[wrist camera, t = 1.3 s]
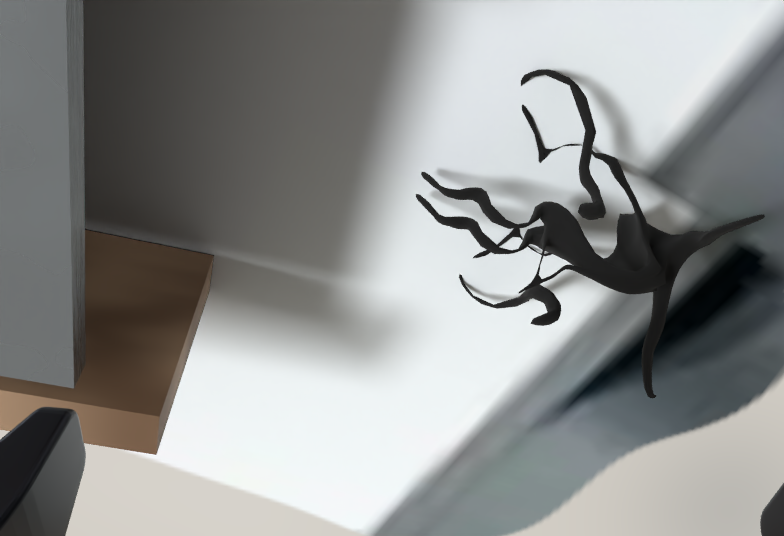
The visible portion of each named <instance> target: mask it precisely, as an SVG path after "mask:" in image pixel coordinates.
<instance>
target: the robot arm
mask: <svg viewBox="0 0 784 536" xmlns="http://www.w3.org/2000/svg"><path fill="white" fill-rule="evenodd" d="M85 458H86V453H85V447H84V442H83V437H82V431H81V426H80V421H79V417H78V414H77V413H76V411H74V410H73V409H68V408H57V407H41V408H39V409H37V410H35V411H34V412H32V413H31V414H30V415H29V416H28V417H26V418H25V419H24V420H23V421H22V422H21V423H19V424H18V425H17V426H16V427H15V428H13V429H12V430H11V431H10V432H9V433H8V434H6V435H5V436H4V437H3V438H2V439H1V440H0V536H65V534H66V531H67V527H68V524H69V520H70V517H71V513H72V509H73V506H74V503H75V499H76V495H77V492H78V489H79V485H80V481H81V478H82V474H83V471H84V466H85ZM760 523H761V534H762V536H784V483H783V485H782V486H781V487H780V489H779V490H778V491H777V493H776V494H775V495H774V497H773V498H772V499H771V501H770V502H769V503H768V505H767V506H766V507H765V509H764V511H763V512H762V515H761V522H760Z"/></svg>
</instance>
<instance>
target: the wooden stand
mask: <svg viewBox="0 0 784 536" xmlns="http://www.w3.org/2000/svg"><path fill="white" fill-rule="evenodd" d="M213 258H214V256H213V255H208V254H203V253H198V252H193V251H188V250H183V249H178V248H173V247H168V246H163V245H158V244H153V243H149V242H144V241H139V240H134V239H129V238H124V237H119V236H114V235H109V234H104V233H99V232H94V231H89V230H85V330H86V364H85V367H84V369H83V371H82V373H81V375H80V377H79V379H78V381H77V383H76V386H75V388H68V387H62V386H56V385H51V384H45V383H39V382H33V381H27V380H21V379H15V378H10V377H4V376H0V430H6V431H11V430H12V429H13V428H15V427H16V426H17V425H18V424H19V423H21V422H22V421H23V420H24V419H25V418H26V417H28V416H29V415H30V414H31V413H32V412H34V411H35V410H37V409H39V408H41V407H57V408H68V409H73V410H74V411H76V413H77V414H78V417H79V421H80V426H81V431H82V437H83V442H84V443H87V444H93V445H99V446H105V447H112V448H118V449H124V450H130V451H137V452H143V453H149V454H155V455H156V454H157V451H158V448H159V445H160V442H161V439H162V435H163V432H164V429H165V426H166V423H167V420H168V417H169V414H170V411H171V408H172V405H173V401H174V398H175V395H176V392H177V389H178V386H179V383H180V380H181V377H182V374H183V371H184V368H185V364H186V361H187V358H188V355H189V352H190V349H191V346H192V343H193V340H194V337H195V334H196V331H197V327H198V324H199V321H200V318H201V315H202V312H203V309H204V306H205V303H206V300H207V297H208V294H209V289H210V281H211V274H212V266H213Z"/></svg>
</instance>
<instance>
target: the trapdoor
mask: <svg viewBox="0 0 784 536" xmlns="http://www.w3.org/2000/svg"><path fill="white" fill-rule="evenodd" d="M85 364H86V330H85V176H84V22H83V0H0V376H4V377H10V378H15V379H21V380H27V381H33V382H39V383H45V384H51V385H56V386H62V387H68V388H75V386H76V383H77V381H78V379H79V377H80V375H81V373H82V371H83V369H84V367H85Z"/></svg>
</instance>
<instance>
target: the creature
mask: <svg viewBox="0 0 784 536" xmlns="http://www.w3.org/2000/svg"><path fill="white" fill-rule="evenodd" d="M540 75H547V76H549V77H552V78H554V79H556V80H558V81H561V82H563V83H565V84H568V85H570V88H571V91H572V93H573V96H574V99H575V102H576V105H577V108H578V110H579V113H580V116H581V119H582V122H583V125H584V127H585V130H586V131H585V136H584V142H583V148H582V153H581V158H580V164H579V175H580V181H581V184H582V185H583V186H584V187H585V188H586V189H587V191H588V192H589V194H590V195H591V198H592V201H593V203H584V204H581V205H580V207H579V210H578V213H579V214H580V215H581V216H582V217H583V218H586V219H588V220H595V219H598V218H604V215H605V213H606V210H605V206H604V203H603V200H602V197H601V194H600V190H599V188H598V186H597V184H596V183H595V181H594V180H593V178H592V176H591V174H590V170H589V164H590V159H591V154H593V156H594V157H595V158H598V159H601V160H603V161H604V162H605V163H607V164H608V165H609V167H610V169H611V172H612V174H613V175H614V177H615V179H616V180H617V181H618V182H619V184H620V185H621V186H622V187H623V189H624V190H625V192H626V194H627V195H628V197H629V199H630V201H631V203H632V205H633V208H634V211H635V213H634V214H630V215H629V214H624V215H623V214H620V216H619V219H618V224H617V246H616V248H615V250H614V253H612V254H611V255H610V256H609V257H608V258H604V259H603V258H602V257H600V256H599V255H597V254H596V253H595V252H594V250H593V248H592V247H591V245H590V244H589V242H588V240H587V239H586V237H585V235H584V233H583V231H582V229H581V227H580V225H579V223H578V221H577V220H576V219H575V217H574V216H573V215H572V214H571V213H570V212H569V211H568V210H567V209H566V208H564V207H563V206H562V205H560V204H558V203H554V202H543V203H541V204H539V205H538V206H536V207H535V209H534V212H533V215H532V217H531V219H530V221H529V222H528V223H523V224H515V223H513V222H511V221H508V220H506V219H505V218H504V217H503V216H502V215H501V214H500V213H499V212H498V211H497V210H496V209H495V208H494V207H493V206H492V205H491V202H490V199H489V196H488V194H487V192H486V191H484V190H483V189H482V188H465V189H461V190H454V189H448V188H444V187H442V186H440V185H439V184H438V183H437V182H436V181H435V180H434V179H433V178H432V177H431V176H430V175H428V174H427V173H425V172H422V174H421V175H422V176H423V178H424V179H425V180H427V181H428V182H429V183H430V184H431V185H432V186H433V187H435V188H436V189H438V190H439V191H440V192H441V193H442V194H443V195H445V196H447V197H450V198H454V199H458V200H474V201H475V202H477V203H478V204H479V205H480V207H481V209H482V211H483V213H484V214H485V215H486V216H487V217H488V218H489V219H490V220H491V221H492V222H493V223H496V224H498V225H501V226H503V227H506V228H508V229H511V228H514V229H513V230H512V232H511V233H510V234H509V235H507V236H506V237H505V238H504V239H503V240H502V241H501V242H500V243H499V244H498V245H496V244H495V243H494V242H493V241H492V240H491V239H490V238H489V237H487V236H486V235H485V234H484V233H483V232H482V230H481V228H480V226H479V224H478V222H476V221H475V220H473V219H472V218H468V217H444V216H442V215H439V214H438V213H437V212H436V210H435V209H434V208H433V207H432V206H431V204H430V203H429V202H428V201H427V200H426V199H424V198H423V197H422V196H421V195H418V194H416V198H417V199H418V201H419V202H420V203H421V204H422V205H423V206H424V207H425V208H426V209H427V210H428V211H429V212H430V213H431V214H432V215H433V216H434V218H435V219H436V220H437V221H438V222H439V223H441V224H443V225H446V226H450V227H453V228H457V229H467V230H469V231H470V232H471V234H472V235H473V236H474V238H475V239H476V240H477V242H478V243H479V244H480V245H481V246H482V247H483V248H485V249H487V250H486V251H483V252H481V253H479V254H477V255H475V256H474V257H473V258H478V257H482V256H486V255H487V254H489V253H490V252H492V253H494V254H511V253H515V252H518V251H521V250H523V249H525V248H526V247H527V246H528V245H529V244H533V245H536V246H538V247H539V248H541V249H542V250H543V252H542V254H541V253H539V252H537V251H536V250H534V249H533V248H531V247H530V246H528V247H529V248H530V249H532V250H533V251H535V252H537V253H539V254H541V255H542V257H541V261H542V259H543V256H548V255H551V254H554V255H556V256H558V257H560V258H562V259H564V260H566V261H568V262H569V263H571V264H572V265H565V266H563V267H562V268H561V269H560V270H558V271H557V272H556V273H554V274H553V275H551V276H549V277H547V278H544V279H541V278H540V276H539V270H540V264H541V261H540V264H539V268H538V271H537V274H536V276H535V277H534V279H533V281H532V282H531V283H530V284H529V285H528V286H526V287H525V288H524V289H522V290H521V291H520V292H519V293H521V292H523V291H525V290H526V291H525V292H524V293H523V294H522V295H521V296H520V297H517V298H514V299H511V300H508V301H504V302H501V303H498V304H495V305H493V304H491V303H488V302H486V301H484V300H482V299H480V298H478V297H475V296H473V294H472V293H471V292H470V291H469V289H468V288H467V287H466V285H465V284H464V283H463V279H462V275H459V278H460V281H461V283H462V285H463V287H464V288H465V290H466V291H467V292H468V293H469V294H470V295H471V296H472V297H473V298H474V299H475V300H477V301H478V302H480V303H481V304H484V305H487V306H490V307H493V308H497V309H498V308H506V307H515V306H518V305H521V304H523V303H525V302H527V301H529V300H530V299H531V298H534V299H536V300H538V301H541V302H543V303H544V304H545V306H546V309H547V313H546V314H543V315H541V316H538V317H536V318H534V319H533V320H532V322H531V324H534V325H541V326H544V325H550V324H552V323H554V322H555V321H557V320H558V319H559V317H560V313H561V305H560V302H559V301H558V299H557V298H556V297H555V295H554V293H552V292H551V291H550V290H548V289H547V288H545V287H543V286H541V285H540V284H541V283H543V282H545V281H547V280H550V279H552V278H554V277H555V276H556V275H557V274H559V273H560V272H561V271H563V270H565V269H570V270H573V271H576V272H578V273H580V274H582V275H584V276H586V277H588V278H591V279H593V280H594V281H596V282H598V283H600V284H602V285H604V286H606V287H609V288H611V289H614V290H616V291H619V292H622V293H627V294H642V293H649V292H653V308H652V317H651V322H650V326H649V329H648V331H647V334H646V337H645V341H644V345H643V349H642V373H643V382H644V388H645V390H646V393H647V395H648V397H650V398H655V397H656V395H654V394H653V390H652V362H653V352H654V350H655V347H656V345H657V343H658V340H659V338H660V335H661V333H662V331H663V328H664V324H665V319H666V314H667V308H668V304H669V299H670V295H671V291H672V287H673V284H674V281H675V278H676V276H677V274H678V271H679V269H680V268H681V266H682V265H683V263H684V262H685V261H686V260H687V258H688V257H689V256H690V255H692V254H693V253H694V252H696V251H697V250H699V249H700V248H703V247H705V246H707V245H709V244H711V243H712V242H713V241H715V240H716V239H717V238H719V237H720V236H722V235H724V234H726V233H728V232H730V231H733V230H735V229H738V228H741V227H743V226H746V225H749V224H751V223H754V222H756V221H759V220H761V219H763V218H764V217H765V216H764V215H757V216H753V217H749V218H746V219H742V220H739V221H736V222H732V223H729V224H726V225H723V226H720V227H717V228H714V229H712V230H710V231H707V232H698V231H690V232H688V233H685V234H683V235H670V234H668V233H665V232H663V231H660V230H658V229H656V228H654V227H653V226H651V225H649V224H647V222H646V219H645V217H644V215H643V213H642V211H641V209H640V206H639V204H638V202H637V199H636V197H635V195H634V193H633V192H632V190H631V188H630V186H629V184H628V182H627V180H626V178H625V176H624V173H623V171H622V168H621V166H620V164H619V162H618V160H617V159H616V158H615V157H612V156H609V155H606V154H600V153H595V152H594V151H593V150H592V145H593V142H594V138H595V134H596V130H595V126H594V123H593V119H592V116H591V112H590V108H589V105H588V101H587V98H586V96H585V95H584V93H583V92H582V90H581V89H580V88H579V86H578V85H577V84H576V83H575V82H574V81H572V80H571V79H570V78H569V77H566V76H564V75H562V74H560V73H558V72H555V71H553V70H536V71H533V72H530V73H528V74H526V75H524V77H523V78H522V80H521V86H522V85H523V84H524V83H525V82H527V81H528V80H529V79H530V78H532V77H534V76H540ZM522 111H523V113H524V115H525V117H526V119H527V120H528V122H529V124H530V126H531V128H532V130H533V132H534V134H535V138H536V142H537V147H538V151H539V162H540V163H541V161H542V160H543V159H545V158H546V157H547V155H548V154H549V153H550V152H551V151H554V150H556V149H558V148H560V147H558V148H556V149H544V147H543V145H542V143H541V140H540V138H539V135H538V132H537V130H536V127H535V124H534V122H533V119H532V117H531V115H530V113H529V112H528V110H527V108H526V107H525V106H524V105H522ZM576 145H578V144H568V145H563V146H576ZM561 147H562V146H561ZM539 218H540V219H541V220H542V222H543V223H544V226H540V227H534V228H531V229H528V230H527V231H526V234H525V236H524V239H522V237H521V236H520V231H519V228H524V227H527V226H529V225H531V224H532V223H534V222H535V221H537V220H538V219H539ZM511 237H520V238H521V239H522V240H523V242H522V243H521V245H520V247H519V249H516V250H508V249H503V248H500V247H499V246H500V245H502V244H503V243H504V242H506V241H507V240H508V239H510V238H511ZM544 251H547V252H549V253H547V254H544Z"/></svg>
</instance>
